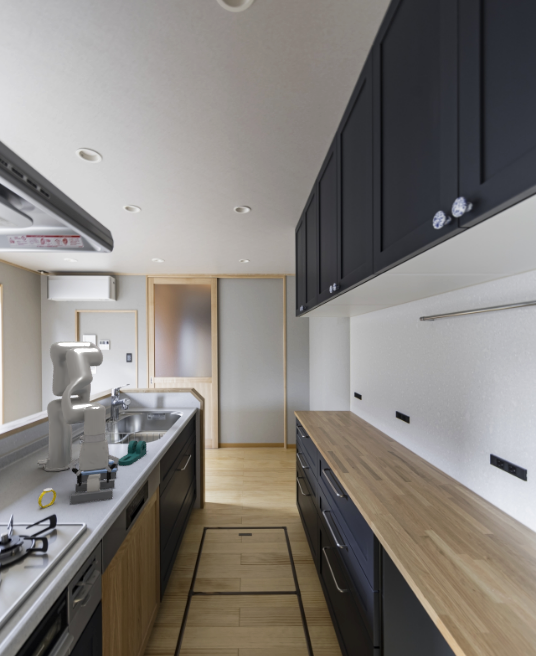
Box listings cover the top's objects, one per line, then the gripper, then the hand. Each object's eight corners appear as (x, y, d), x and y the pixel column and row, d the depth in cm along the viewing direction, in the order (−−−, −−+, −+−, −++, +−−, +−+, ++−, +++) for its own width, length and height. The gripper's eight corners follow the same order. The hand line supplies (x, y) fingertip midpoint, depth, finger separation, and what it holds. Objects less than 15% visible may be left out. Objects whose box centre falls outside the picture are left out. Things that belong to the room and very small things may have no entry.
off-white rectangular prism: (86, 498, 135) (87, 479, 135) (88, 493, 140) (89, 475, 140) (98, 497, 136) (98, 478, 137) (99, 491, 141) (100, 473, 141)
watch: (52, 502, 132) (53, 486, 133) (57, 504, 131) (58, 487, 132) (35, 508, 127) (37, 491, 127) (41, 510, 125) (42, 492, 126)
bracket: (134, 454, 188) (134, 438, 188) (146, 454, 187) (146, 439, 188) (115, 466, 170) (115, 449, 171) (128, 466, 169) (129, 449, 170)
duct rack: (69, 504, 130) (69, 493, 130) (83, 472, 161) (83, 463, 161) (112, 498, 135) (113, 488, 135) (118, 468, 166) (118, 460, 166)
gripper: (67, 442, 132) (66, 490, 131) (118, 438, 138) (118, 483, 137) (71, 437, 139) (70, 482, 138) (119, 433, 145) (119, 477, 144)
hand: (94, 483), depth 138 cm, fingers open, 9 cm apart
